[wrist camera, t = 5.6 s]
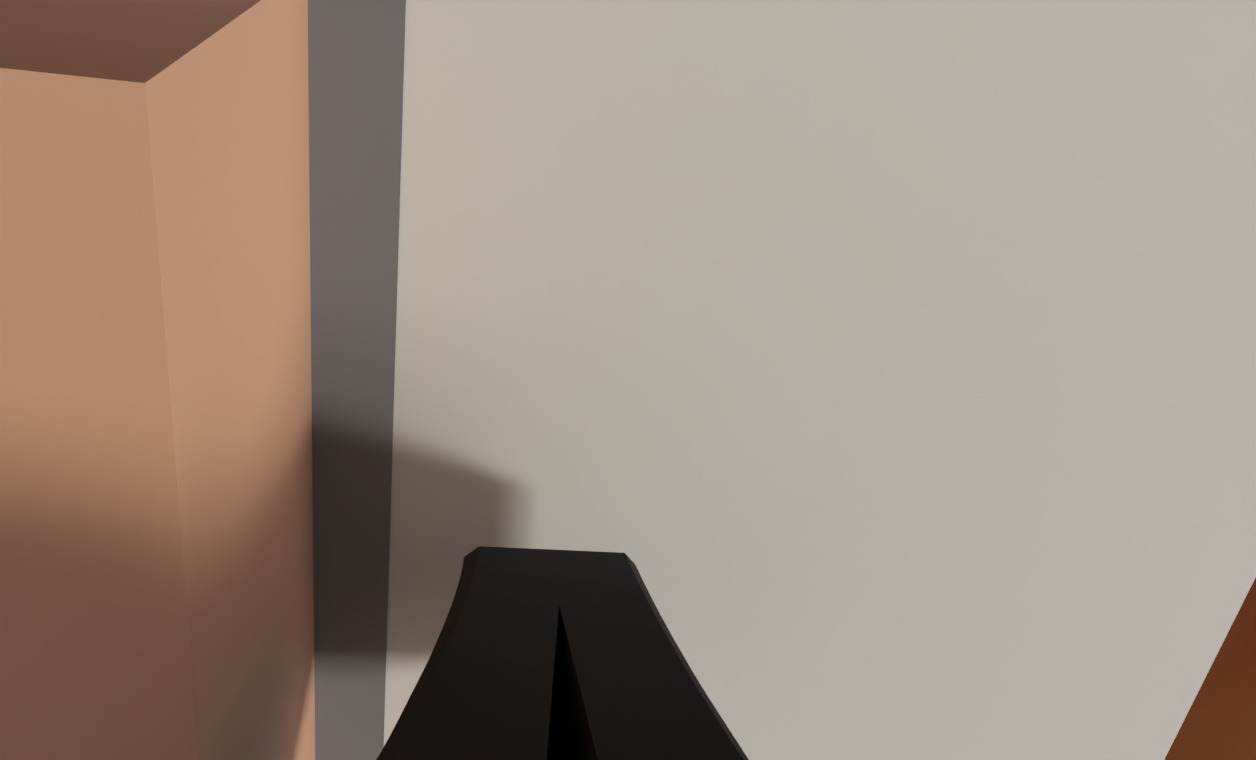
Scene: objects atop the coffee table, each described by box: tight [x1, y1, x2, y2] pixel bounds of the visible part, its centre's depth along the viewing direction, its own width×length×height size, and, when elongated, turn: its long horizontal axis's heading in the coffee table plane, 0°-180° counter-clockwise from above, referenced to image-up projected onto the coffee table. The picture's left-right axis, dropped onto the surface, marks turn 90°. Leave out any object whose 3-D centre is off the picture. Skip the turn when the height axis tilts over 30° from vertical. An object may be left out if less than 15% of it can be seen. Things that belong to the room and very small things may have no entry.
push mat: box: [308, 0, 1256, 760], centre depth 10 cm, size 20×12×1 cm, turn 83°
